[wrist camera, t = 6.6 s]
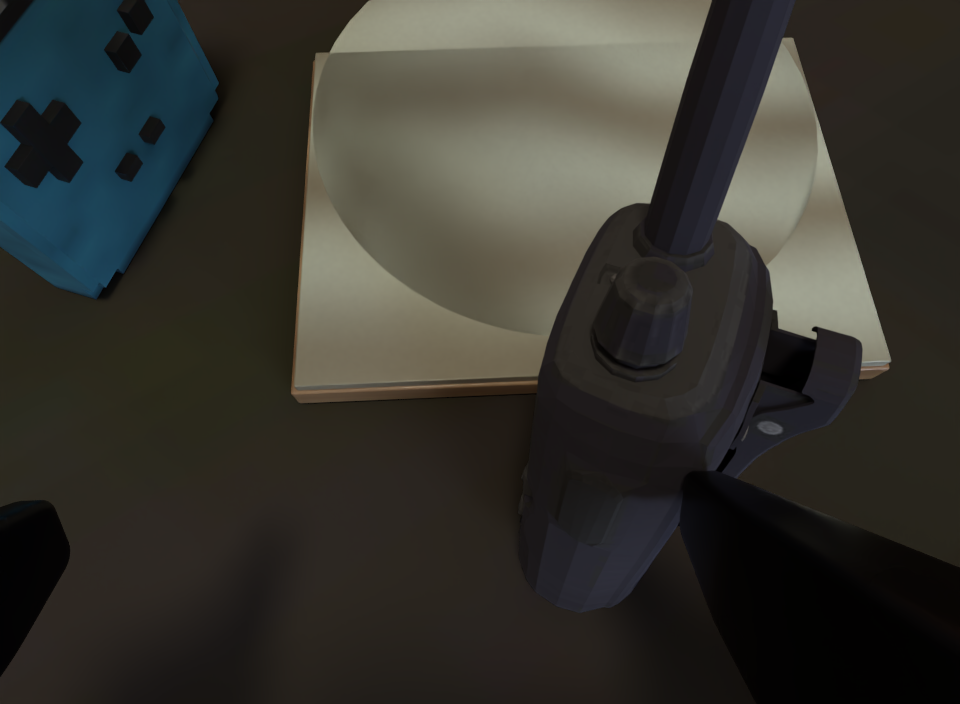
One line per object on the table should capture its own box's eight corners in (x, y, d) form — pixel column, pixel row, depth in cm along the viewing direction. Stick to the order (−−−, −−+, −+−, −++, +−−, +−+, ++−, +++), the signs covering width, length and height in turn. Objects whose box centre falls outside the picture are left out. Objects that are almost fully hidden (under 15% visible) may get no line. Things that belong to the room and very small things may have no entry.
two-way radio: (564, 424, 19) (693, -217, 7) (708, 476, 18) (1158, -172, 6) (496, 595, 16) (511, 9, 4) (662, 669, 15) (1358, 177, 3)
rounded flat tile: (871, 379, 20) (899, 364, 18) (298, 403, 19) (286, 390, 18) (749, -43, 26) (764, -76, 25) (325, -31, 26) (317, -64, 25)
